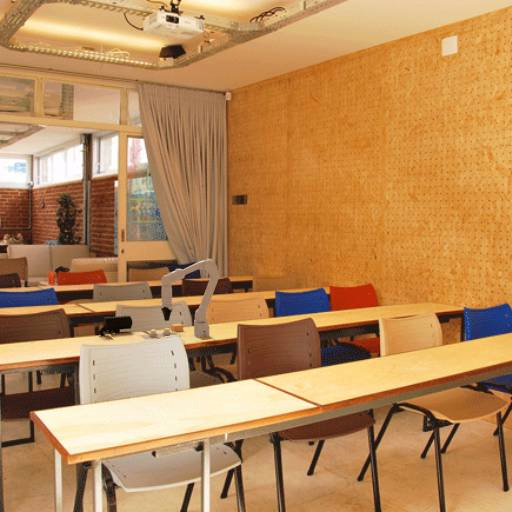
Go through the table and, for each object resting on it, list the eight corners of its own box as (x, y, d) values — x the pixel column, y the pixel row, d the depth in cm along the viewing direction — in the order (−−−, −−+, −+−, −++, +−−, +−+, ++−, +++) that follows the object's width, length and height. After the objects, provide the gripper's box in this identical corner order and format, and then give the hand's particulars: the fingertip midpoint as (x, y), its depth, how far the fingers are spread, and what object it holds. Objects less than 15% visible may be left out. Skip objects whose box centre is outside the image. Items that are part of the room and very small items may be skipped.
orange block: (183, 332, 369) (183, 325, 369) (174, 333, 366) (174, 325, 366) (179, 331, 374) (179, 323, 373) (171, 332, 371) (171, 324, 371)
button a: (169, 332, 356) (169, 329, 356) (165, 332, 355) (165, 329, 355) (168, 331, 358) (168, 328, 358) (164, 332, 357) (164, 328, 357)
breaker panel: (180, 338, 354) (180, 333, 354) (146, 341, 345) (146, 336, 345) (173, 334, 365) (173, 329, 364) (139, 337, 355) (139, 332, 355)
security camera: (98, 334, 362) (97, 317, 362) (130, 332, 370) (130, 315, 369) (100, 336, 356) (100, 319, 355) (133, 334, 364) (132, 317, 363)
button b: (156, 333, 352) (156, 330, 352) (151, 334, 351) (151, 330, 351) (154, 333, 354) (154, 329, 354) (150, 333, 353) (150, 329, 353)
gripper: (155, 295, 359) (155, 319, 360) (164, 298, 347) (164, 323, 348) (167, 294, 363) (167, 318, 364) (176, 297, 350) (176, 322, 351)
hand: (166, 320), depth 356 cm, fingers closed
